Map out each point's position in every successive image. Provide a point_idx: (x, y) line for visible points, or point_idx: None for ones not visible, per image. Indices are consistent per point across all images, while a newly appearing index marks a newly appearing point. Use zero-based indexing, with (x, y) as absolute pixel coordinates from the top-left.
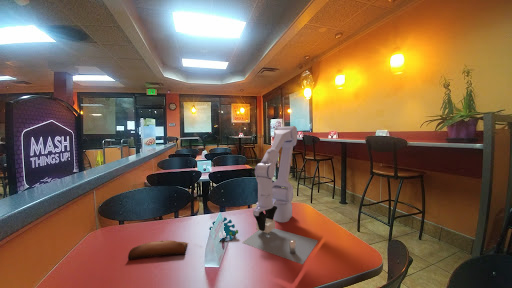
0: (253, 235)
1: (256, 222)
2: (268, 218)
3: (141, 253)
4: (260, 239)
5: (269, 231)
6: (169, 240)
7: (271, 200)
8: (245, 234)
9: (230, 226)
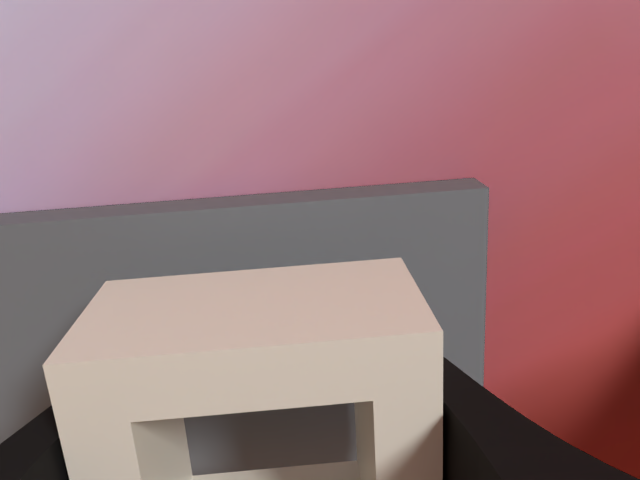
0: (27, 256)
1: (46, 367)
2: (449, 473)
3: None
4: (17, 422)
5: None
6: None
7: None
8: (35, 29)
9: None
